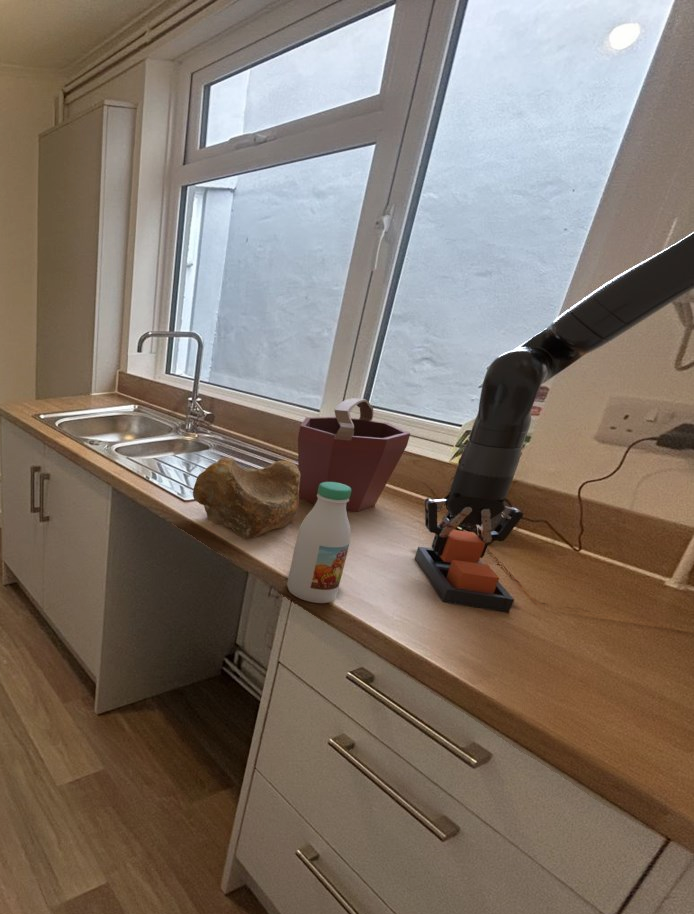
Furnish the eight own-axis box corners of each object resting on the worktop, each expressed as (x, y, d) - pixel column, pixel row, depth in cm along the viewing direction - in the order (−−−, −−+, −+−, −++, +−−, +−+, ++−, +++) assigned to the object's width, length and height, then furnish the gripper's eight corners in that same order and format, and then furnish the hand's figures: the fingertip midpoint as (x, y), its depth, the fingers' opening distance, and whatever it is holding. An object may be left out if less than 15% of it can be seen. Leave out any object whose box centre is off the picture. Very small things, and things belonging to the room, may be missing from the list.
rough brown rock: (211, 550, 109) (227, 485, 102) (182, 513, 124) (193, 453, 117) (316, 547, 111) (338, 483, 104) (275, 511, 126) (291, 453, 119)
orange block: (466, 553, 98) (473, 532, 97) (477, 566, 94) (485, 543, 92) (434, 549, 100) (441, 528, 98) (443, 561, 96) (451, 539, 94)
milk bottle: (287, 599, 90) (311, 490, 83) (284, 578, 97) (306, 475, 89) (339, 608, 87) (368, 496, 80) (332, 585, 94) (358, 480, 86)
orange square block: (478, 586, 92) (487, 564, 91) (490, 601, 88) (499, 578, 86) (444, 581, 94) (452, 559, 92) (454, 595, 90) (462, 572, 88)
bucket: (348, 523, 119) (375, 414, 109) (262, 493, 136) (280, 397, 127) (404, 502, 130) (433, 401, 121) (318, 477, 148) (338, 388, 138)
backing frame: (470, 565, 100) (474, 553, 99) (509, 612, 86) (514, 599, 85) (414, 557, 104) (418, 546, 103) (442, 602, 89) (447, 589, 88)
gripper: (442, 470, 90) (415, 558, 96) (549, 479, 85) (513, 572, 91) (429, 458, 96) (404, 541, 102) (528, 466, 91) (495, 553, 98)
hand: (455, 555), depth 97 cm, fingers closed on orange block, 5 cm apart
